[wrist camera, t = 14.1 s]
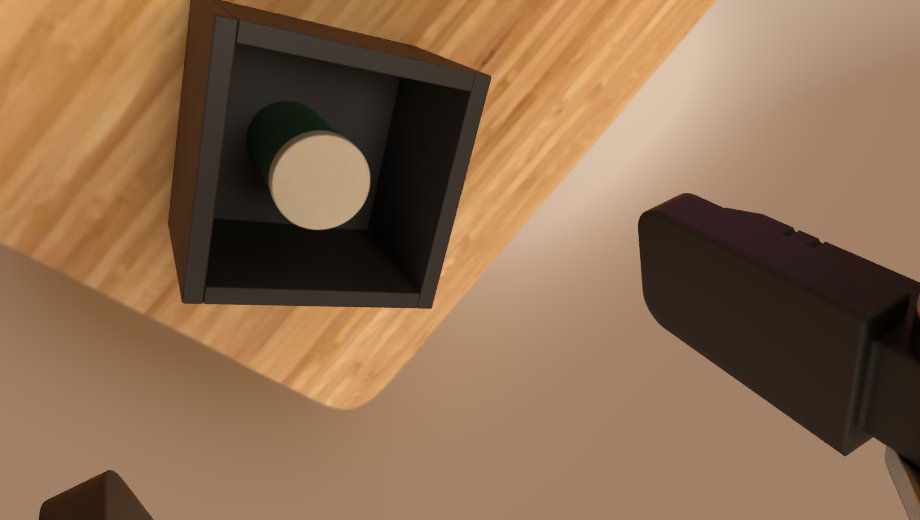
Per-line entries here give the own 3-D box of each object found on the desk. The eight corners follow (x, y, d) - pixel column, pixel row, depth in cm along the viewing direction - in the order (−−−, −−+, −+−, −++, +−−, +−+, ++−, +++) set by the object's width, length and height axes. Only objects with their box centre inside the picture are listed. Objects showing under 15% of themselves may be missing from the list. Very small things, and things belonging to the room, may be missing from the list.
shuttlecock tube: (238, 174, 33) (264, 225, 27) (251, 90, 31) (281, 126, 26) (320, 184, 35) (359, 234, 29) (335, 107, 33) (380, 143, 28)
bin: (167, 224, 33) (181, 304, 26) (191, -7, 29) (214, 13, 22) (374, 240, 38) (432, 309, 31) (416, 46, 34) (492, 76, 28)
